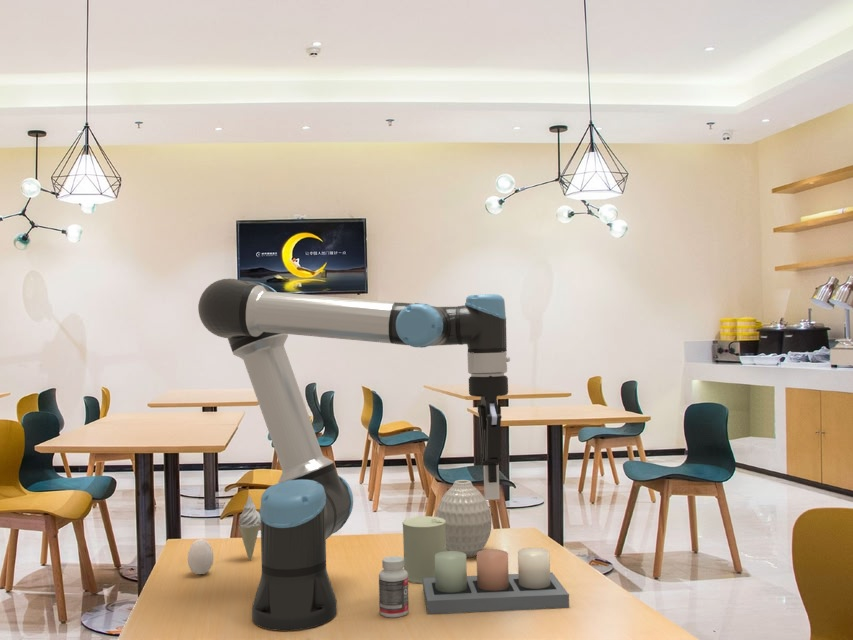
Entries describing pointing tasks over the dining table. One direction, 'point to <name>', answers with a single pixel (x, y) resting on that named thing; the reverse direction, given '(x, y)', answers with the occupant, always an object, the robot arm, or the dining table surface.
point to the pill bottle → (393, 588)
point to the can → (422, 546)
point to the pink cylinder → (492, 569)
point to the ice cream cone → (249, 526)
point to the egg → (200, 557)
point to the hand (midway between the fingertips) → (492, 498)
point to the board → (494, 597)
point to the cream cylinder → (534, 568)
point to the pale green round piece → (450, 571)
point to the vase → (465, 518)
